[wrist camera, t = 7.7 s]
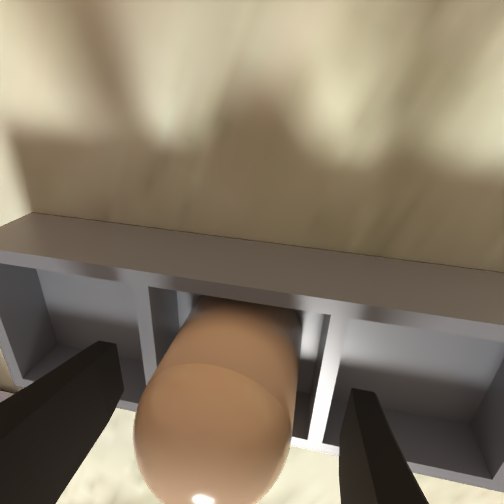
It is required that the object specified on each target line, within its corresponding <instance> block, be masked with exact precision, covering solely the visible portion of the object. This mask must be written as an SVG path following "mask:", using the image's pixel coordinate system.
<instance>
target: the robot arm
mask: <svg viewBox="0 0 504 504" xmlns="http://www.w3.org/2000/svg"><path fill="white" fill-rule="evenodd" d="M123 392H124V384H123V379H122V373H121V367H120V362H119V356H118V350H117V345H116V344H115V343H110V342H105V341H97V342H95V343H94V344H92V345H90V346H89V347H87V348H86V349H84V350H83V351H81V352H79V353H78V354H76V355H75V356H73V357H72V358H70V359H69V360H67V361H66V362H64V363H63V364H61V365H60V366H58V367H57V368H55V369H53V370H52V371H50V372H49V373H47V374H46V375H44V376H43V377H41V378H39V379H38V380H36V381H35V382H33V383H32V384H30V385H28V386H27V387H25V388H24V389H22V390H20V391H19V392H17V393H15V394H13V393H9V392H4V391H0V504H56V502H57V501H58V499H59V497H60V496H61V494H62V493H63V491H64V490H65V488H66V486H67V485H68V483H69V482H70V480H71V479H72V477H73V476H74V474H75V473H76V471H77V470H78V468H79V467H80V465H81V464H82V462H83V461H84V459H85V458H86V456H87V454H88V453H89V451H90V450H91V448H92V447H93V445H94V444H95V442H96V441H97V439H98V438H99V436H100V434H101V433H102V431H103V430H104V428H105V427H106V425H107V423H108V422H109V420H110V418H111V416H112V414H113V412H114V410H115V408H116V406H117V404H118V402H119V400H120V398H121V396H122V394H123ZM339 482H340V495H341V504H429V503H428V501H427V499H426V498H425V496H424V494H423V492H422V490H421V488H420V487H419V485H418V483H417V481H416V479H415V477H414V475H413V473H412V471H411V469H410V467H409V465H408V463H407V461H406V459H405V457H404V456H403V453H402V451H401V449H400V447H399V445H398V443H397V441H396V439H395V437H394V435H393V432H392V430H391V428H390V426H389V424H388V421H387V419H386V417H385V414H384V412H383V409H382V407H381V405H380V402H379V400H378V397H377V395H376V394H375V393H374V392H372V391H366V390H361V389H356V388H351V392H350V395H349V399H348V403H347V407H346V411H345V415H344V419H343V423H342V427H341V431H340V437H339Z"/></svg>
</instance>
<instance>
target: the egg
mask: <svg viewBox="0 0 504 504" xmlns="http://www.w3.org/2000/svg"><path fill="white" fill-rule="evenodd" d="M301 344H302V325H301V321H300V318H299V316H298V314H297V312H296V311H295V309H290V308H283V307H277V306H270V305H264V304H258V303H251V302H245V301H239V300H232V299H226V298H219V297H213V296H207V295H201V296H200V297H199V299H198V300H197V302H196V304H195V305H194V307H193V309H192V310H191V312H190V314H189V315H188V317H187V319H186V320H185V322H184V324H183V325H182V327H181V329H180V330H179V332H178V334H177V335H176V337H175V339H174V340H173V342H172V344H171V345H170V347H169V349H168V350H167V352H166V354H165V355H164V357H163V359H162V360H161V362H160V364H159V365H158V367H157V369H156V370H155V372H154V374H153V375H152V377H151V379H150V380H149V382H148V384H147V386H146V387H145V389H144V391H143V393H142V395H141V398H140V401H139V403H138V406H137V410H136V413H135V419H134V426H133V444H134V454H135V457H136V461H137V465H138V468H139V471H140V473H141V475H142V477H143V479H144V481H145V483H146V485H147V486H148V487H149V489H150V490H151V491H152V493H153V494H154V495H155V496H156V497H157V498H158V499H159V500H160V501H161V502H162V503H163V504H255V503H257V502H258V501H259V500H260V499H261V498H262V497H263V496H264V495H265V494H266V493H267V492H268V491H269V490H270V489H271V487H272V486H273V485H274V483H275V482H276V480H277V479H278V477H279V475H280V473H281V471H282V469H283V467H284V465H285V463H286V460H287V457H288V453H289V449H290V444H291V439H292V429H293V420H294V410H295V401H296V392H297V382H298V373H299V363H300V354H301Z"/></svg>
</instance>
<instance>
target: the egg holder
mask: <svg viewBox="0 0 504 504" xmlns="http://www.w3.org/2000/svg"><path fill="white" fill-rule="evenodd" d="M201 295H207V296H213V297H219V298H226V299H232V300H239V301H245V302H251V303H258V304H264V305H270V306H277V307H283V308H290V309H295V311H296V312H297V314H298V316H299V318H300V321H301V325H302V344H301V354H300V363H299V373H298V382H297V392H296V401H295V410H294V420H293V429H292V439H291V444H290V446H294V447H299V448H303V449H308V450H312V451H317V452H321V453H326V454H331V455H335V456H339V437H340V431H341V427H342V423H343V419H344V415H345V411H346V407H347V403H348V399H349V395H350V392H351V388H356V389H361V390H366V391H372V392H374V393H375V394H376V395H377V397H378V400H379V402H380V405H381V407H382V409H383V412H384V414H385V417H386V419H387V421H388V424H389V426H390V428H391V430H392V432H393V435H394V437H395V439H396V441H397V443H398V445H399V447H400V449H401V451H402V453H403V456H404V457H405V459H406V461H407V463H408V465H409V467H410V469H411V471H412V472H413V473H417V474H422V475H426V476H431V477H436V478H440V479H445V480H449V481H454V482H458V483H463V484H468V485H472V486H477V487H481V488H486V489H490V490H495V491H500V492H504V273H501V272H493V271H485V270H477V269H469V268H462V267H454V266H446V265H438V264H430V263H422V262H415V261H407V260H399V259H391V258H383V257H376V256H368V255H360V254H352V253H344V252H337V251H329V250H321V249H313V248H305V247H297V246H290V245H282V244H274V243H266V242H258V241H251V240H243V239H235V238H227V237H219V236H211V235H204V234H196V233H188V232H180V231H172V230H165V229H157V228H149V227H141V226H133V225H126V224H118V223H110V222H102V221H94V220H86V219H79V218H71V217H63V216H55V215H47V214H40V213H30V214H28V215H25V216H23V217H21V218H19V219H16V220H14V221H12V222H10V223H8V224H5V225H3V226H1V227H0V347H1V350H2V352H3V355H4V358H5V360H6V363H7V366H8V368H9V371H10V373H11V376H12V379H13V381H14V384H15V386H20V387H27V386H28V385H30V384H32V383H33V382H35V381H36V380H38V379H39V378H41V377H43V376H44V375H46V374H47V373H49V372H50V371H52V370H53V369H55V368H57V367H58V366H60V365H61V364H63V363H64V362H66V361H67V360H69V359H70V358H72V357H73V356H75V355H76V354H78V353H79V352H81V351H83V350H84V349H86V348H87V347H89V346H90V345H92V344H94V343H95V342H97V341H105V342H110V343H115V344H116V345H117V350H118V356H119V362H120V367H121V373H122V379H123V384H124V392H123V394H122V396H121V398H120V400H119V402H118V404H117V406H116V408H121V409H125V410H130V411H134V412H136V410H137V406H138V403H139V401H140V398H141V395H142V393H143V391H144V389H145V387H146V386H147V384H148V382H149V380H150V379H151V377H152V375H153V374H154V372H155V370H156V369H157V367H158V365H159V364H160V362H161V360H162V359H163V357H164V355H165V354H166V352H167V350H168V349H169V347H170V345H171V344H172V342H173V340H174V339H175V337H176V335H177V334H178V332H179V330H180V329H181V327H182V325H183V324H184V322H185V320H186V319H187V317H188V315H189V314H190V312H191V310H192V309H193V307H194V305H195V304H196V302H197V300H198V299H199V297H200V296H201Z"/></svg>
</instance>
